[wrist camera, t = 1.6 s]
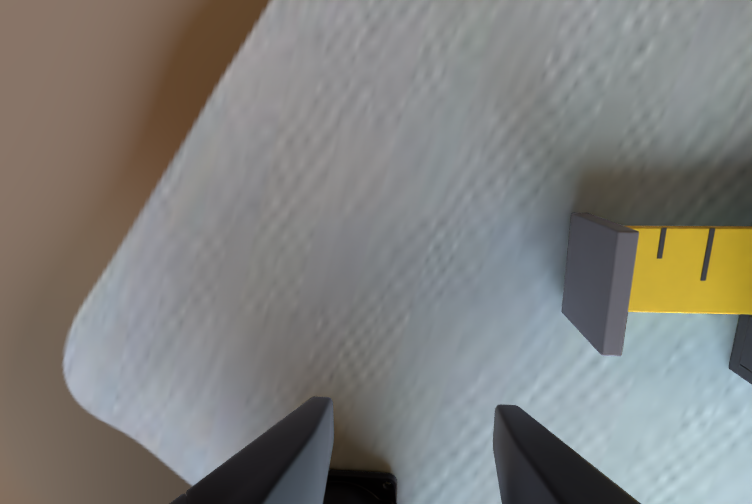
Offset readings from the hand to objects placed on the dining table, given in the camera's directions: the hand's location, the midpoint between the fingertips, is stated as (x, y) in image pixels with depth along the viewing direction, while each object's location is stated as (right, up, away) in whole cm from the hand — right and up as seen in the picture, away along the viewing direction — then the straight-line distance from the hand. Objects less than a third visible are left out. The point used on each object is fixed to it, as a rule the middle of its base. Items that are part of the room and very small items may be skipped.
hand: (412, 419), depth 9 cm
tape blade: (+13, +3, +11) cm, 18 cm away
